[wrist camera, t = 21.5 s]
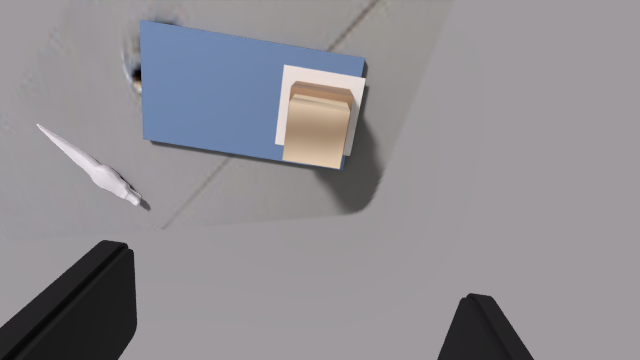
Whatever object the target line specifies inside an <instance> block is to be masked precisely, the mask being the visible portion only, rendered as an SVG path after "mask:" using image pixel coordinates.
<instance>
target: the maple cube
mask: <svg viewBox="0 0 640 360" xmlns="http://www.w3.org/2000/svg"><path fill="white" fill-rule="evenodd" d="M349 117H350V109H349V107H348V104H347V102H341V101H335V100H329V99H323V98H317V97H311V96H305V95H298V94H294V96H293V97H292V99H291V100H290V102H289V110H288V118H287V126H286V135H285V143H284V151H283V159H282V160H285V161H291V162H298V163H304V164H311V165H317V166H323V167H330V168H336V169H340V164H341V159H342V154H343V148H344V143H345V138H346V133H347V127H348V122H349Z"/></svg>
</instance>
